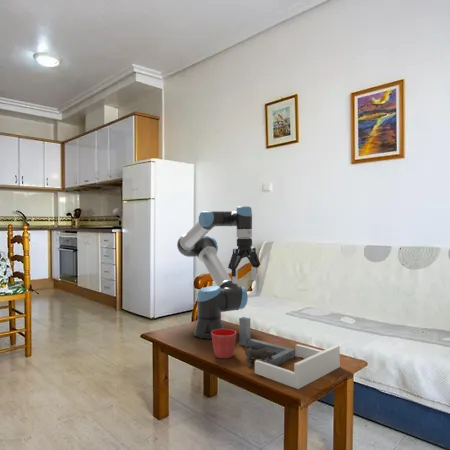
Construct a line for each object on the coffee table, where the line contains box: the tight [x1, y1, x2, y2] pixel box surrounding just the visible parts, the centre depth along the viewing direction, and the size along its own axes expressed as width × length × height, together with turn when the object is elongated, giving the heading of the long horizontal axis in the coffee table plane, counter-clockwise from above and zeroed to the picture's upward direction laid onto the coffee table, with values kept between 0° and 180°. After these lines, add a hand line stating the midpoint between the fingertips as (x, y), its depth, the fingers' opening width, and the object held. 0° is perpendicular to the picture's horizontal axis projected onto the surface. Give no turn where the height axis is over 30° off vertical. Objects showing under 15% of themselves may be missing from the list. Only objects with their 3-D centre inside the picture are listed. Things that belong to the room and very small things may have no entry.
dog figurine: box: [244, 345, 274, 367], centre depth 146 cm, size 12×6×7 cm, turn 89°
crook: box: [238, 316, 296, 367], centre depth 155 cm, size 27×19×12 cm
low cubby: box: [254, 343, 341, 390], centre depth 139 cm, size 19×27×8 cm
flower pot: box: [211, 328, 237, 359], centre depth 156 cm, size 11×11×10 cm
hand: (244, 281), depth 181 cm, fingers open, 13 cm apart
